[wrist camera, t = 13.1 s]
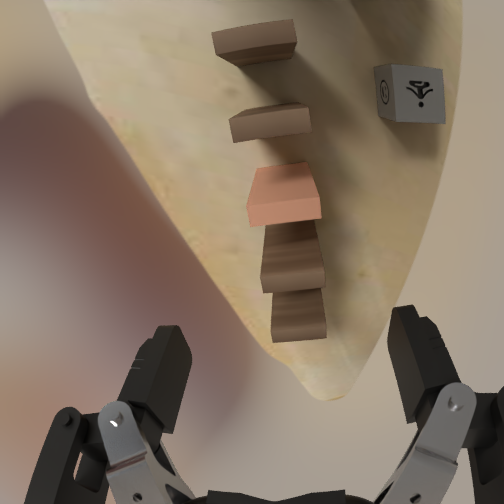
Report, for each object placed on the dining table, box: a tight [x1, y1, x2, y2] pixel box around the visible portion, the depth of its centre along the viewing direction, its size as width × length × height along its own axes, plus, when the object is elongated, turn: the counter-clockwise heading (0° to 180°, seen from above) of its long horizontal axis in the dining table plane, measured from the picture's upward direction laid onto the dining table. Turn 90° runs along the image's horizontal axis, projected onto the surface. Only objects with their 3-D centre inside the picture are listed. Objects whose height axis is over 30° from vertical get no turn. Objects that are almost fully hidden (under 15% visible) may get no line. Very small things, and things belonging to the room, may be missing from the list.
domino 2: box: [229, 102, 312, 143], centre depth 22 cm, size 2×5×10 cm, turn 100°
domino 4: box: [260, 219, 325, 293], centre depth 28 cm, size 2×5×10 cm, turn 100°
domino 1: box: [212, 19, 297, 67], centre depth 19 cm, size 2×5×10 cm, turn 100°
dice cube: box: [374, 64, 445, 124], centre depth 21 cm, size 5×5×5 cm
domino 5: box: [271, 288, 327, 343], centre depth 30 cm, size 2×5×10 cm, turn 100°
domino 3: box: [246, 162, 321, 227], centre depth 25 cm, size 2×5×10 cm, turn 100°
